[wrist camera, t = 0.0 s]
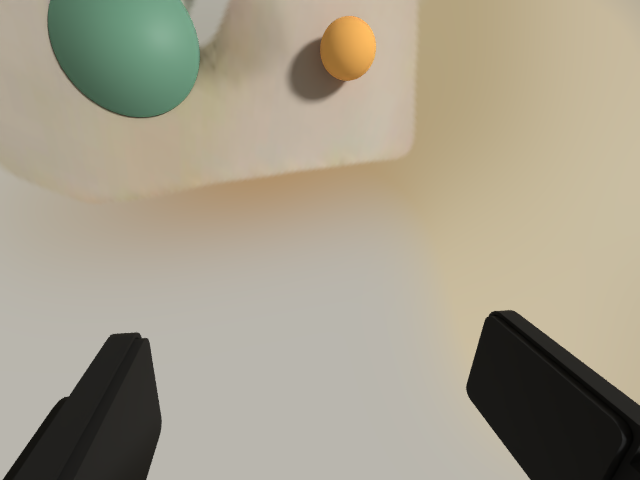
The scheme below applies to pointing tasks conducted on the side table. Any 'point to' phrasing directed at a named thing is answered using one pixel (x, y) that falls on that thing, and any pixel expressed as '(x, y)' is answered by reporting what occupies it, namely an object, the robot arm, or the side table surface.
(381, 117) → the side table surface
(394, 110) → the side table surface
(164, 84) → the disc
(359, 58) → the ball
